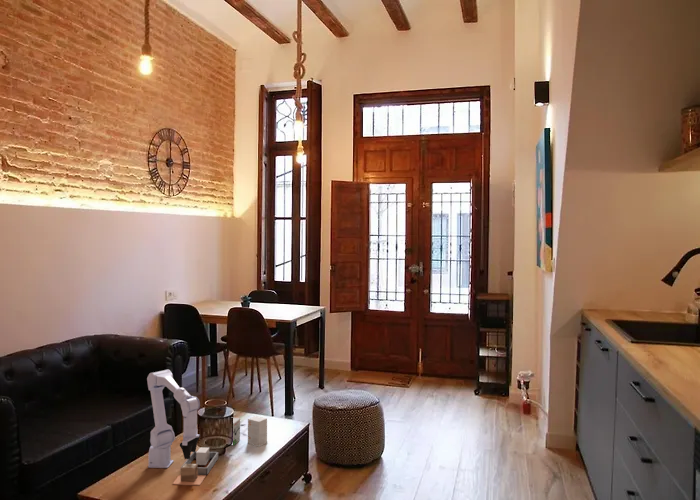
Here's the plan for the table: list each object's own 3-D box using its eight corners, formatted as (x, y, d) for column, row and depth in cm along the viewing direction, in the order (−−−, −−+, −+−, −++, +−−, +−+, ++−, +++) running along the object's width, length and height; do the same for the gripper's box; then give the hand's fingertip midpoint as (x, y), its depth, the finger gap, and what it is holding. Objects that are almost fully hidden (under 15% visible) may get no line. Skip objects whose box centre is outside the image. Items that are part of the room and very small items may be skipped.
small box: (267, 442, 285) (267, 418, 284) (259, 446, 279) (259, 421, 279) (255, 439, 289) (255, 415, 289) (247, 443, 284) (247, 418, 283)
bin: (180, 473, 247) (180, 467, 247) (193, 457, 265) (193, 451, 265) (207, 474, 247) (207, 468, 247) (218, 458, 265) (218, 452, 265)
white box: (196, 464, 257) (196, 452, 257) (200, 459, 263) (200, 447, 263) (205, 465, 257) (205, 452, 257) (209, 459, 263) (209, 447, 263)
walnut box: (194, 481, 239) (194, 468, 238) (180, 481, 239) (180, 467, 239) (197, 477, 243) (197, 463, 243) (184, 476, 243) (184, 463, 243)
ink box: (233, 446, 280) (233, 423, 279) (224, 445, 281) (224, 422, 280) (240, 439, 288) (240, 417, 288) (231, 439, 289) (231, 416, 289)
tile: (172, 484, 237) (172, 483, 237) (179, 475, 246) (179, 474, 246) (199, 485, 236) (199, 484, 236) (206, 476, 245) (206, 475, 245)
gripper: (193, 431, 235) (193, 462, 235) (204, 419, 249) (203, 448, 250) (177, 430, 235) (177, 461, 236) (189, 419, 250) (188, 448, 250)
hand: (190, 455), depth 243 cm, fingers open, 7 cm apart
